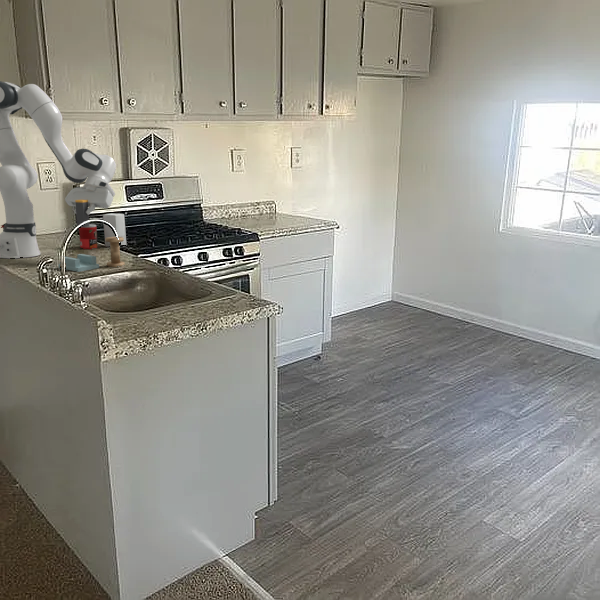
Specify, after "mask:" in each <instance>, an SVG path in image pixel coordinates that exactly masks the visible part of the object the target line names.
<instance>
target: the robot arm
mask: <svg viewBox="0 0 600 600" xmlns="http://www.w3.org/2000/svg"><path fill="white" fill-rule="evenodd" d="M21 109H23V110H24V111H26V113H27V114H28V115H29V117H30V118H31V119H32V121H33V122H34V123H35V125H36V127H38V129H39V131H40V133H41V135H42V138H43V139H44V141H45V143H46V144H47V146H48V147H49V149H50V150H51V152H52V153H53V155H54V156H55V158H56V160H57V161H58V163H59V164H60V166H61V169H62V171H63V175H64V176H65V178H66V179H68V181H70V182H72V183H75V184H81V183H83V182H84V184H83V186H76V187H74V188H72V189H71V190H70V191H69V192H68V193H67V195H66V196H65V198H64V201H65V203H66V204H67V205H68V206H69V207H74V208H75V209H74V210H73V213H74V214H75V215H76V203H75V200H88V209H85V211H84V213H85V214H86V215H90V214H91V213H92V212H93V211H95V209H108V208H109V207H111V205H112V203H113V202H114V197H115V195H116V193H115V191H114V189H113V188H112V186H111V185H110V183H111V182H112V180H113V178H114V176H115V173H116V170H117V169H116V168H117V164H116V161H115V160H114V158H113V157H112V156H110V155H108V154H99V153H95V152H94V151H92V150H91V149H88V148H79V149H77V150H76V151H75V152H74V154H73V153H71V151H70V150H69V148H68V147H67V145H66V144H65V141H64V140H63V137H62V136H63V135H62V129H63V128H62V127H63V115H62V113H61V111H60V109H59V108H58V106H57V105H56V104H55V102H54V101H53V100H52V98H51V97H50V96H49V95H48V94H47V93H46V92H45V91H44V90H43V89H42V88H41V87H39V85H37V84H34V83H28V84H26V85H24V86H22V87H21V86H20V85H18V84H16V83H13V82H9V81H2V80H0V164H1V166H0V195H1V197H2V201H3V206H4V212H5V222H4V223H3V224H1V225H0V229H2V232H0V259H10V258H15V259H21V258H20V257H23V258H31V257H38V256H40V255H41V251H40V248H39V244H38V240H37V226H36V222H35V217H34V205H33V202H32V201H31V200H30V197H29V193H28V191H27V190H28V189H30V188H32V187H33V186H35V184H36V183H37V182H38V180H39V179H38V178H39V177H38V172H37V171H36V169H35V168H34V167H33V166H32V164H31V163H30V161H29V160H28V158H27V157H26V155H25V153H24V151H23V150H22V148H21V146H20V144H19V141H18V139H17V136H16V133H15V131H14V128H13V125H12V122H11V119H10V115H14V114H15V113H18V111H20V110H21Z"/></svg>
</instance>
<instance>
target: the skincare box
mask: <svg viewBox="0 0 600 600" xmlns="http://www.w3.org/2000/svg"><path fill="white" fill-rule="evenodd" d="M125 219H126V218H125V214H124V213H106V214H102V220H104V221H106V222H108V223H110V224H111V225H112V226H113V227H114V228H115V230H116V231H117V234H118V236H119V237H123V238H124V241H122V242H121V245H126V246H127V236H126V235H127V233H126V221H125ZM103 231H104V245H106V246H105V247H109V246H110V242H106V239H105V238H107V237H115V235H114V233H113V231H112V229H111V228H110V227H109V226H107V225H105V224H104V223H103Z"/></svg>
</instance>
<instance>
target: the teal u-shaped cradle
mask: <svg viewBox="0 0 600 600" xmlns="http://www.w3.org/2000/svg"><path fill="white" fill-rule="evenodd" d="M76 255H77V257H75V258H74V257H71V256H70V257H69V256H64V257H65V263H66V269H65V270H68V271H73V272H77V273H79V272H86V271H91V270H96V269H99V268H100V264H99V263H97V256H95V255H90V254H84V253H79V254H76ZM60 264H61V263H58V264H57V265H58V266H57V267H58V269H61V268H60Z"/></svg>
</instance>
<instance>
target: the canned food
mask: <svg viewBox="0 0 600 600" xmlns="http://www.w3.org/2000/svg"><path fill="white" fill-rule="evenodd" d="M97 229H98V228H97V224H94V223H89V226H87V227H81V228H79V227H78V232H79V233H78V234H79V247H80V249H81V248H83V249H82V250H93V249H92V248H96V249H98V231H97Z"/></svg>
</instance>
